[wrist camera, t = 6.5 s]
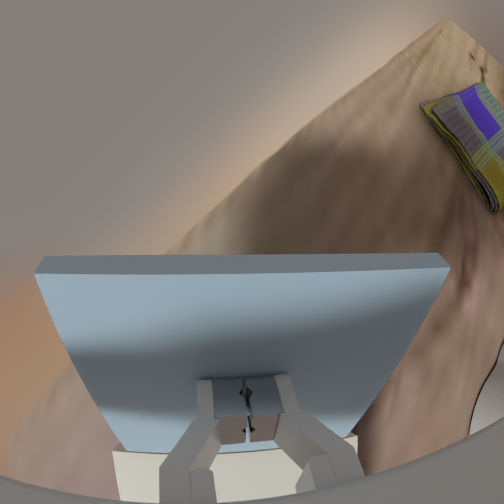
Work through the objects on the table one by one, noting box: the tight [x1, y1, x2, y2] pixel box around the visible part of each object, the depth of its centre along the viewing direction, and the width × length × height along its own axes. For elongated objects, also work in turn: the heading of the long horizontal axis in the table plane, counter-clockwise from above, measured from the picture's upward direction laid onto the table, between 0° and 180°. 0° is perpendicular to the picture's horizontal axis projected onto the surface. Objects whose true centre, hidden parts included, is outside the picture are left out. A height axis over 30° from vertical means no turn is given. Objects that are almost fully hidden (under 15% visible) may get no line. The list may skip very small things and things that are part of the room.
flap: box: [34, 253, 451, 453], centre depth 12 cm, size 12×1×12 cm
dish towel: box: [420, 82, 504, 213], centre depth 36 cm, size 18×24×3 cm
